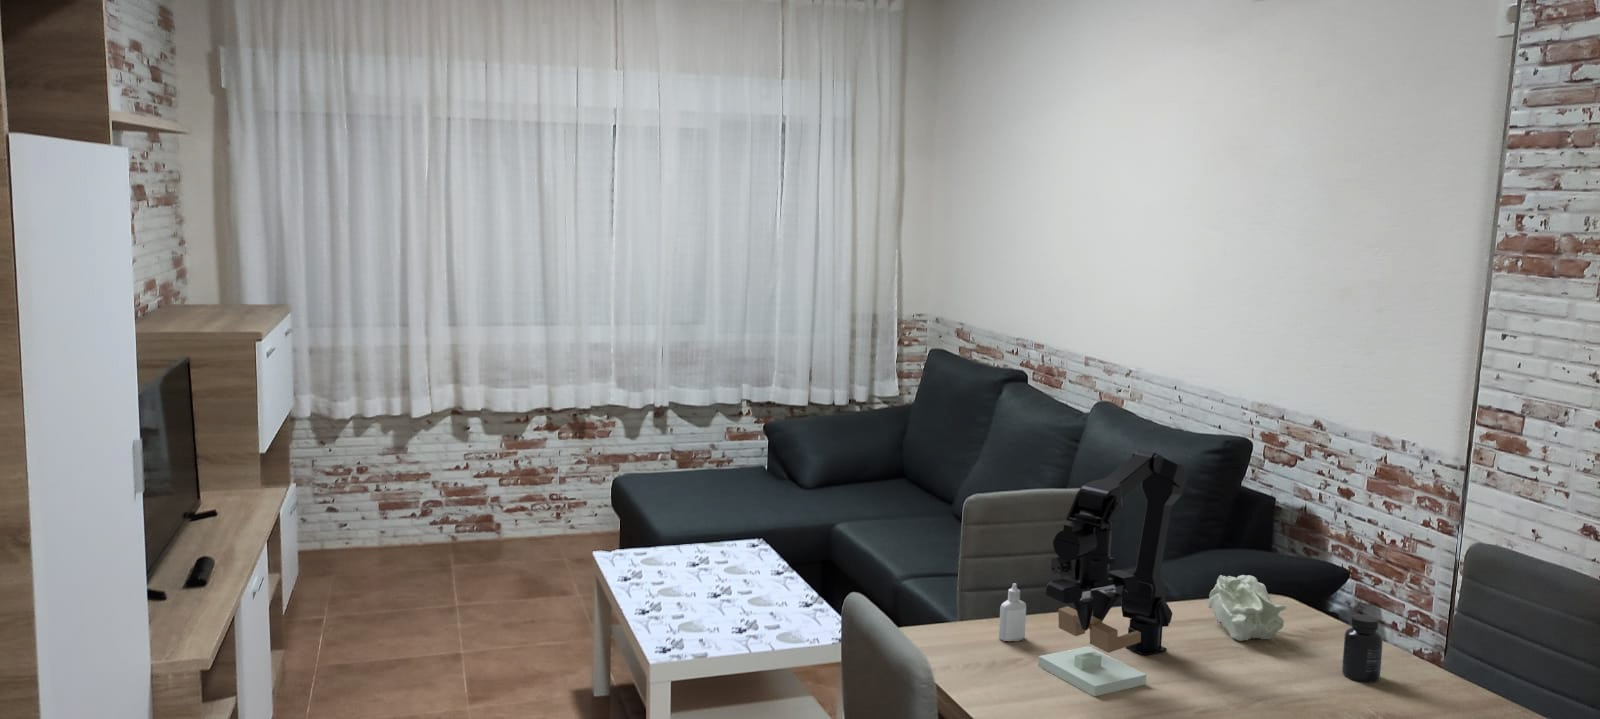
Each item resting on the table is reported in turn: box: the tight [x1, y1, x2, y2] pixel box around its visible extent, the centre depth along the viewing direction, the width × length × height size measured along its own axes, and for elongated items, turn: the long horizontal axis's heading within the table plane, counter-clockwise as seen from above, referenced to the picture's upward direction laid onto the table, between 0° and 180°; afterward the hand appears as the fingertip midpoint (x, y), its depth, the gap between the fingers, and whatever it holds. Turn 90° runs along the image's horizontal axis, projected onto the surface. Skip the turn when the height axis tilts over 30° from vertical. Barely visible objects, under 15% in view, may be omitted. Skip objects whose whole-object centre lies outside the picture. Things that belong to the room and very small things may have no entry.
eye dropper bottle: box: [998, 582, 1027, 643], centre depth 244 cm, size 4×6×12 cm
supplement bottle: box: [1341, 614, 1384, 683], centre depth 229 cm, size 7×7×12 cm
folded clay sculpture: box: [1208, 574, 1287, 642], centre depth 252 cm, size 18×13×16 cm
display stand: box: [1037, 645, 1147, 697], centre depth 226 cm, size 13×16×4 cm
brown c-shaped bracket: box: [1057, 605, 1141, 654], centre depth 227 cm, size 8×14×4 cm, turn 28°
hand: (1090, 628), depth 225 cm, fingers closed on brown c-shaped bracket, 2 cm apart
